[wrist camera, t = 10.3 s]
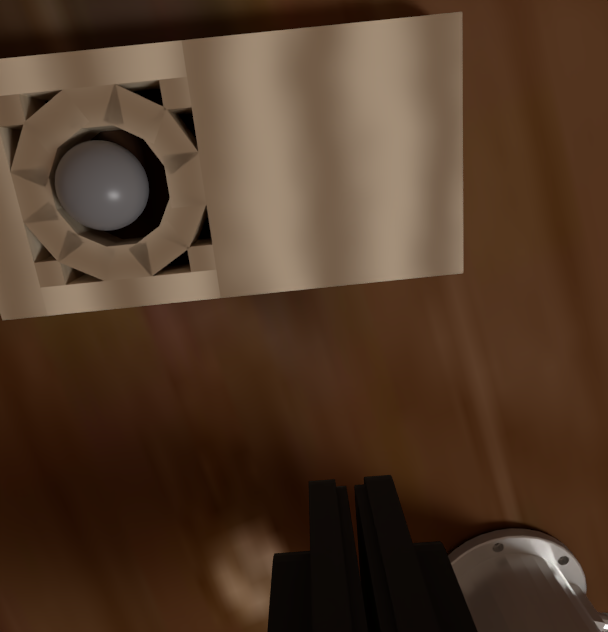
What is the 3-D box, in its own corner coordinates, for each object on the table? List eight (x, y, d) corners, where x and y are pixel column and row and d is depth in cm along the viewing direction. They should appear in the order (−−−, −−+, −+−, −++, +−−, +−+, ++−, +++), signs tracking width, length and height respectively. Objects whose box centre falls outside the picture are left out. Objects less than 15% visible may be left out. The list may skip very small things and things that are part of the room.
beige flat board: (445, 26, 29) (462, 11, 26) (448, 263, 33) (463, 273, 30) (-36, 75, 29) (-72, 66, 26) (26, 306, 33) (2, 320, 30)
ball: (37, 162, 25) (32, 165, 29) (94, 250, 27) (82, 241, 31) (128, 121, 26) (111, 129, 31) (174, 207, 29) (152, 204, 33)
